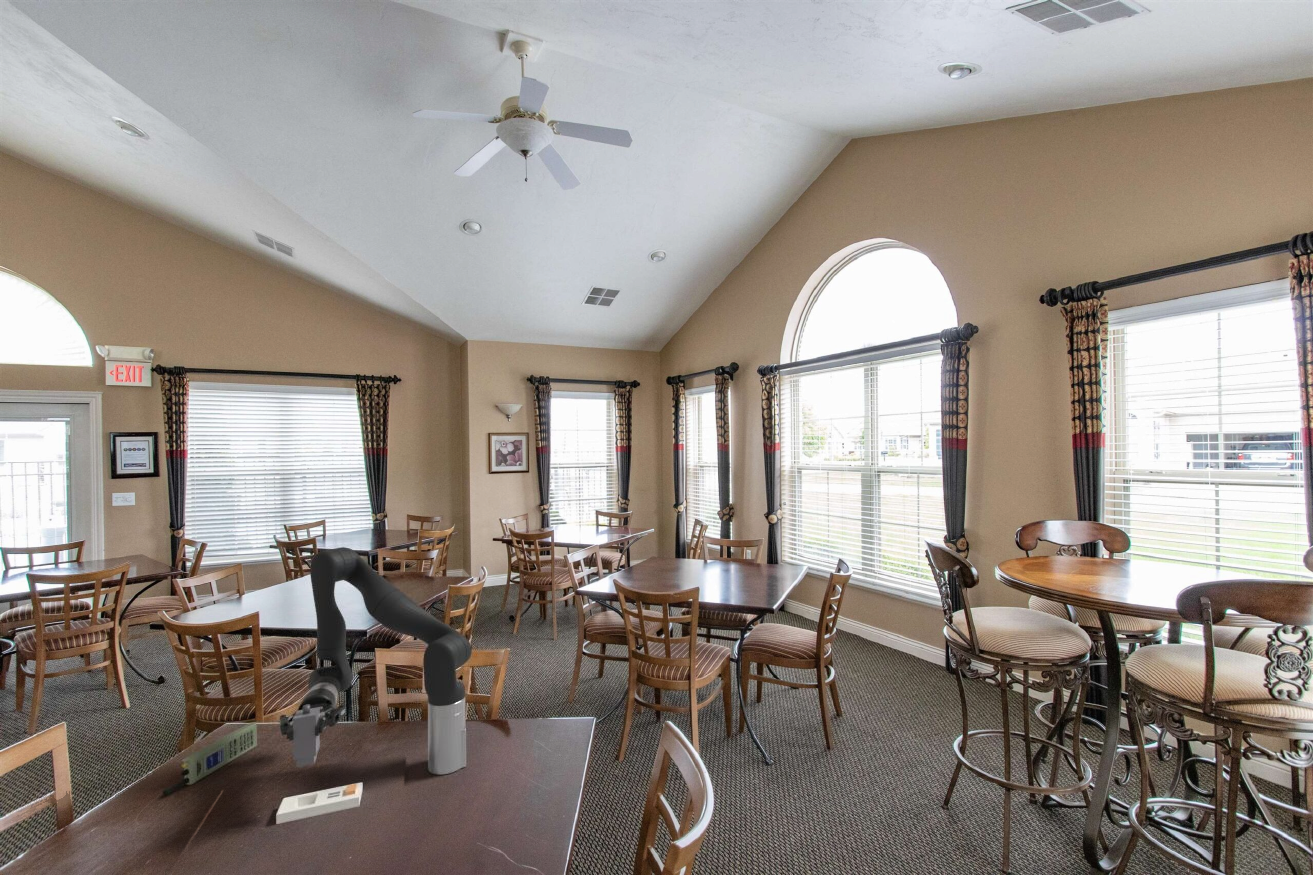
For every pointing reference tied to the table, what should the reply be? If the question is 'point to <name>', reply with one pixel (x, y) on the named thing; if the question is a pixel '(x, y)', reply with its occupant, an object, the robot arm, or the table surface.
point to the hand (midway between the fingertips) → (304, 733)
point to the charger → (305, 736)
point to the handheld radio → (216, 755)
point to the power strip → (319, 802)
